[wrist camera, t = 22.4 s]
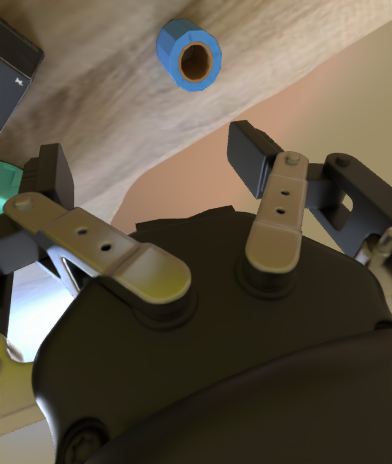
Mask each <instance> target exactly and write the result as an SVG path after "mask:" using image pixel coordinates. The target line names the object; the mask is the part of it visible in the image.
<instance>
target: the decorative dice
mask: <svg viewBox="0 0 392 464" xmlns="http://www.w3.org/2000/svg"><path fill="white" fill-rule="evenodd" d="M22 174H23V170H21V169H19V168H17V167H15V166H13V165H10V164H7V163H4V162H0V214H2V213H4V212H3V209H2V208H3V205H4V203H5V202H6V201H7V200H8V199H10V198H11V197H13V196H15V195H18V190H19V186H20V182H21V179H22Z"/></svg>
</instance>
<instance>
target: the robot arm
mask: <svg viewBox="0 0 392 464" xmlns="http://www.w3.org/2000/svg"><path fill="white" fill-rule="evenodd" d="M227 157H228V161H229V163H230V164H231V166H232V167H233V168H234V170H235V171H236V173H237V174H238V175H239V177H240V178H241V179H242V181H243V182H244V183H245V185H246V186H247V187H248V188H249V190H250V192H251V193H252V194H253V196H254V197H255V198H256V199H261V198H262V200H261V203H260V206H259V209H258V212H257V215H255V214H251V213H247V212H238V211H235V210H234V208H233V206H232V205H230V206H224V207H219V208H214V209H209V210H207V211H204V212H202V213H199V214H197V215H194V216H192V217H189V218H183V219H157V220H152V221H148V222H142V223H137V224H136V230H137V231H136V232H133V233H131V234H129V235H126V234H124V233H123V232H121V231H119V230H118V229H116V228H114V227H113V226H111V225H109V224H107V223H106V222H104V221H102V220H101V219H99V218H97V217H96V216H94V215H92V214H90V213H89V212H87V211H85V210H84V209H82V208H80V207H75V208H74V183H73V178H72V175H71V172H70V169H69V166H68V163H67V161H66V158H65V155H64V152H63V149H62V147H61V145H60V143H55V144H47V145H41V148H40V153H39V157H37V158H31V159H30V160H29V161H28V162H27V163H26V164H25V165H24V169H23V174H22V179H21V182H20V186H19V190H18V195H15V196H13V197H11V198H10V199H8V200H7V201H6V202H5V203H4V205H3V208H2V209H3V212H4V213H2V214H0V436H2V435H4V434H7V433H10V432H13V431H15V430H18V429H20V428H23V427H25V426H28V425H31V424H33V423H36V422H39V421H41V420H44V419H47V422H48V424H49V427H50V430H51V434H52V437H53V443H54V451H55V464H392V314H391V312H390V310H392V187H391V186H390V185H388V184H387V183H386V182H385V181H383V180H382V179H381V178H380V177H379V176H377V175H376V174H375V173H373V172H372V171H371V170H370V169H369V168H367V167H366V166H365V165H363V164H362V163H361V162H360V161H359V160H357V159H356V158H354V157H353V156H350V155H347V154H343V153H332V154H329V155H328V156H327V157H326V160H325V163H324V164H317V163H309V160H308V158H307V157H306V156H304V155H302V154H300V153H297V152H291V151H286V152H285V151H284V150H283V149H282V148H281V147H280V146H279V145H277V144H276V143H275V142H274V141H273V140H272V139H271V138H270V137H269V136H268V135H267V134H266V133H265V132H263V131H261V130H258V129H255V128H254V127H253V126H252V125H251V124H250V123H249V122H248V121H247V120H241V121H234V122H231V123H230V126H229V135H228V146H227ZM346 194H347V195H348V196H349V197H350V198H351V199H352V202H353V209H352V211H351V212H350V211H349V210H348V209H347V208H346V207H345V206H344V205H343V204H342V201H343V199H344V197H345V195H346ZM304 208H309V210H310V212H311V213H312V214H313V215H314V217H315V218H316V219H317V220H318V221H319V222H320V224H321V225H322V226H323V227H324V229H325V230H326V231H327V232H328V234H329V235H330V236H331V237H332V239H333V240H334V241H335V242H336V244H337V245H338V246H339V247H340V248H341V250H342V251H343V252H344V253H345V254H343V253H341V252H338V251H336V250H334V249H332V248H330V247H328V246H325V245H323V244H321V243H319V242H317V241H314V240H312V239H310V238H307V237H305V236H303V235H302V231H301V227H302V220H303V213H304ZM34 262H35V263H36V264H37V265H38V266H39V267H41V268H42V269H43V270H44V271H46V272H47V273H48V274H49V275H51V276H52V277H53V278H54V279H56V280H57V281H58V282H59V283H61V284H62V285H63V286H64V287H65V288H66V289H67V290H68V291H69V293H70V294H71V295H72V296H73V297H74V298H75V299H74V300H73V301H72V303H71V304H70V305H69V307H68V308H67V310H66V311H65V312H64V314H63V315H62V316H61V318H60V319H59V320H58V322H57V323H56V324H55V326H54V327H53V328H52V330H51V331H50V332H49V334H48V335H47V336H46V338H45V339H44V341H43V342H42V344H41V345H40V347H39V349H38V351H37V354H36V356H35V359H34V361H33V362H27V363H24V360H23V356H22V353H21V352H20V351H19V350H18V349H17V348H16V347H15V346H14V345H13V344H12V343H11V342H10V341H9V340H8V339H7V333H8V324H9V314H10V305H11V295H12V286H13V277H14V271H16V270H18V269H21V268H23V267H25V266H27V265H30V264H32V263H34Z"/></svg>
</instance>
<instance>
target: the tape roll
mask: <svg viewBox="0 0 392 464" xmlns="http://www.w3.org/2000/svg"><path fill="white" fill-rule="evenodd" d="M191 45H193V52H192V54H191V56H190V58H189V59H188V60H186V61H185V62H183V63H181V58H182V56H183V54H184V51H185V50H186V49H188V48H189V47H190V46H191ZM157 51H158V58H159V59H160V61H161V63H162V64H163V66H164V68H165V69H166V70H167V72H168V73H169V75H170V76H171V77H172V79H173V80H174V81H175V83H176V84H177V85H178V86H179V87H181V88H183V89H185V90H187V91H188V92H194V91H202V90H204V89H205V88H207V87H208V86H209V85H211V84H212V83H213V82H214V81H215V79H216V77H217V75H218V73H219V71H220V69H221V56H222V53H221V50H220V48H219V45H218V43H217V41H216V39H215V38H214V37H213V36H212V35H210V34H209V33H207V32H206V31H204V30H203V29H201V28H200V27H198V26H196V25H195V24H193V23H192V22H190V21H188V20H187V19H173V20H171V21H170V22H169V23H168V24H166V25H165V26H164V27H163V28H162V30H161V32H160V35H159V37H158V40H157Z"/></svg>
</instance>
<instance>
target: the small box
mask: <svg viewBox="0 0 392 464" xmlns="http://www.w3.org/2000/svg"><path fill="white" fill-rule="evenodd" d="M44 56H45V54H44V52H43V51H42V50H41V49H39V48H38V47H36V46H35V45H33V43H32V42H30V41H28V40H27V39H26V38H24V37H23V36H22V35H20V34H19V33H18V32H17V31H16V30H15V29H13V28H12V27H11V26H9V25H8V24H7V23H6V22H5V21H4V20H3V19H1V18H0V134H1V132H2V130H3V129H4V127H5V125H6V124H7V122H8V120H9V119H10V117H11V115H12V114H13V112H14V111H15V109H16V107H17V106H18V104H19V103H20V101H21V99H22V98H23V96H24V94H25V92H26V91H27V89H28V88H29V86H30V84H31V83H32V81H33V79H34V76H35V74H36V72H37V70H38V67H39V65H40V63H41V61H42V60H43V58H44Z"/></svg>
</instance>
